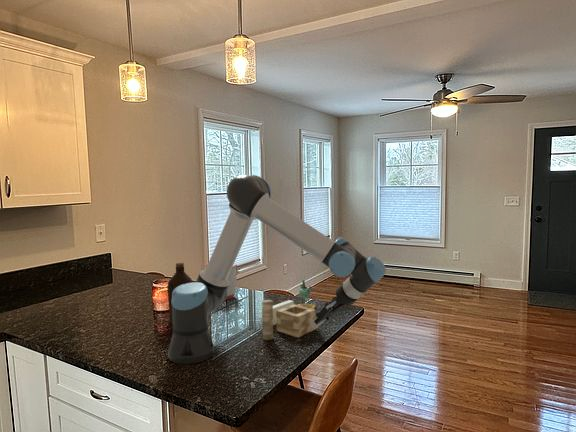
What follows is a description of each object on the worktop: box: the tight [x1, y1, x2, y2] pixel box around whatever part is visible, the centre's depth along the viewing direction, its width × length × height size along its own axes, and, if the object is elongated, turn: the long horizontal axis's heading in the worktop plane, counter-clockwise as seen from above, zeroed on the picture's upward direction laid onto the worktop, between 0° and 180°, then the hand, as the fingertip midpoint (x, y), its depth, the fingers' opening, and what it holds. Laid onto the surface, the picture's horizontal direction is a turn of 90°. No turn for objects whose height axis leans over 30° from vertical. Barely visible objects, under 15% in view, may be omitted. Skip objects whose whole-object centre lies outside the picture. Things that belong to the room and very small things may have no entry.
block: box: [276, 303, 317, 338], centre depth 153 cm, size 11×11×8 cm
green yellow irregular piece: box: [294, 279, 317, 309], centre depth 178 cm, size 10×18×15 cm, turn 138°
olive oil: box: [166, 262, 194, 326], centre depth 162 cm, size 11×11×25 cm
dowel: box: [261, 299, 274, 341], centre depth 145 cm, size 4×4×14 cm
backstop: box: [273, 299, 295, 326], centre depth 163 cm, size 16×2×7 cm, turn 139°
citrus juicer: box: [205, 264, 240, 301], centre depth 197 cm, size 16×17×20 cm
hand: (312, 326), depth 147 cm, fingers closed
